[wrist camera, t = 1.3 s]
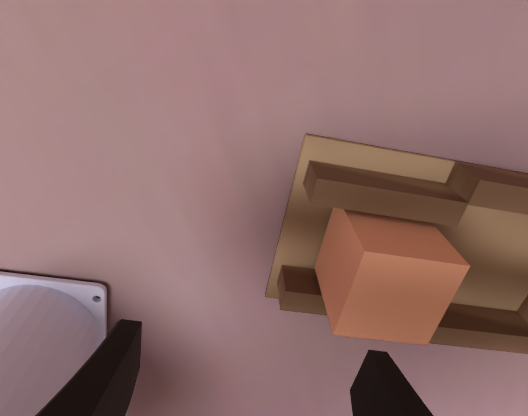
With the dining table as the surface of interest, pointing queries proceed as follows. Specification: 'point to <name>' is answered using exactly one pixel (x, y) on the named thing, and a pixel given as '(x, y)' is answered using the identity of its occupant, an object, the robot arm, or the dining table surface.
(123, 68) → the dining table surface
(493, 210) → the chute
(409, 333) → the block
